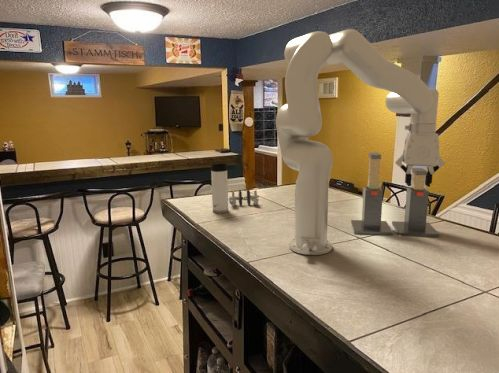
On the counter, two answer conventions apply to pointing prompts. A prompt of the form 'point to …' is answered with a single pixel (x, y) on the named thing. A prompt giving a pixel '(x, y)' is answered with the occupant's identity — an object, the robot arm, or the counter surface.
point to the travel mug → (219, 187)
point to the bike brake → (239, 197)
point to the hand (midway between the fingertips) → (417, 185)
